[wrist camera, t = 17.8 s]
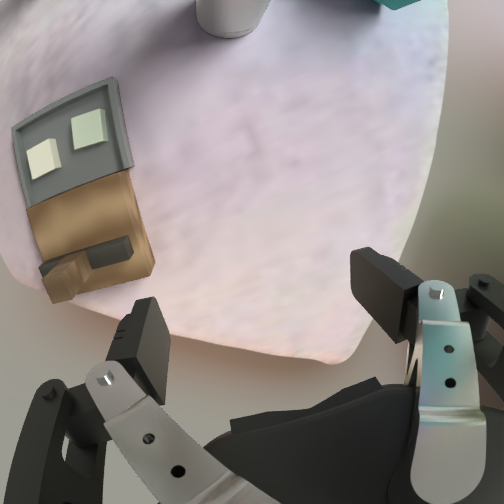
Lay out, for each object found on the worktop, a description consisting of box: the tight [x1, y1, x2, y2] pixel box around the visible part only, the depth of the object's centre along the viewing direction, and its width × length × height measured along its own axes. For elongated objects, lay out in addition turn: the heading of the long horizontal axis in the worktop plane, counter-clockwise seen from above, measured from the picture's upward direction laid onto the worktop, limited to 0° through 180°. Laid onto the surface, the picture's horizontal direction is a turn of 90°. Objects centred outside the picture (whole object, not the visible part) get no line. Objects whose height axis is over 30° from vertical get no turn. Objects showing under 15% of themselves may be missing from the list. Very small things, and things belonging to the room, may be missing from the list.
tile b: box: [71, 109, 108, 150], centre depth 30 cm, size 4×4×2 cm
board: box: [26, 170, 155, 294], centre depth 34 cm, size 14×16×5 cm
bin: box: [11, 77, 134, 207], centre depth 30 cm, size 13×18×2 cm
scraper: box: [39, 235, 134, 304], centre depth 28 cm, size 3×14×10 cm, turn 101°
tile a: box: [27, 139, 61, 180], centre depth 30 cm, size 4×4×2 cm
